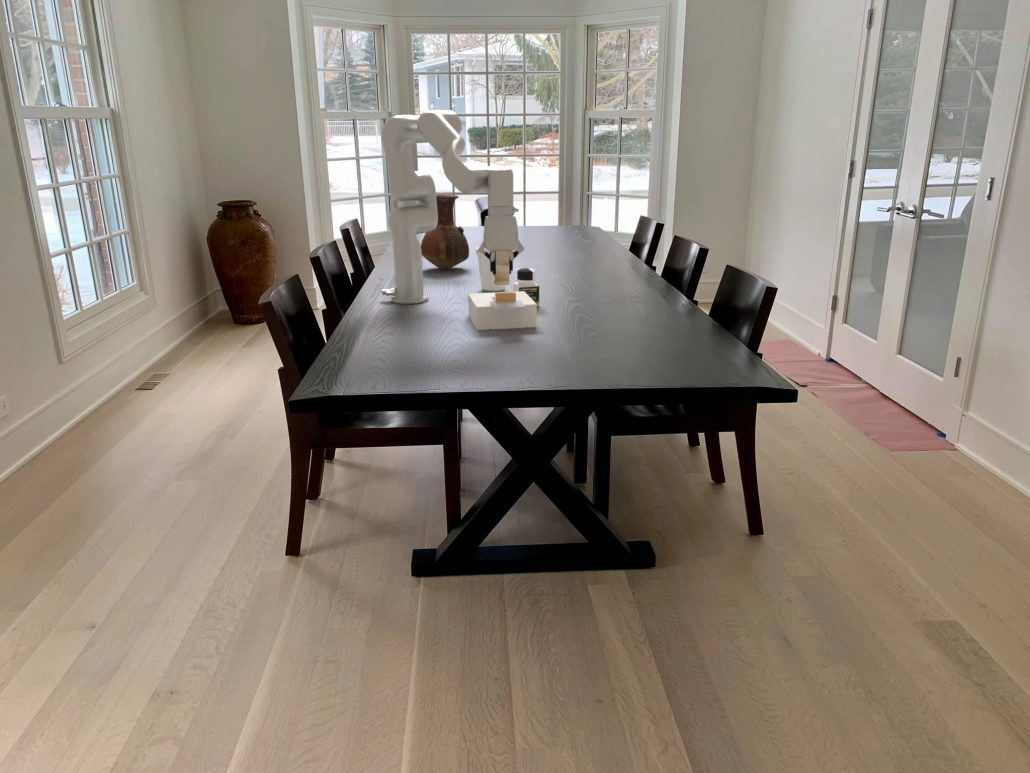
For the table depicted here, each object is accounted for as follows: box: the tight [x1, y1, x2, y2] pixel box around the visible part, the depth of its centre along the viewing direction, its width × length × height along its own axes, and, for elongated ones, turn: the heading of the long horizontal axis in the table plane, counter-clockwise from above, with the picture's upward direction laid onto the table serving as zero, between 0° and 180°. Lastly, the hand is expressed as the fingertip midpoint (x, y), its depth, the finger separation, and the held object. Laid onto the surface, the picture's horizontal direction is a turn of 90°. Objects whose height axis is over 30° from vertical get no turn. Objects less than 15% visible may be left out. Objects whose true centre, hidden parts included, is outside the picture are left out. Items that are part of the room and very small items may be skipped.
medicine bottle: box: [512, 267, 540, 306], centre depth 250 cm, size 7×7×12 cm
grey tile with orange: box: [490, 291, 526, 311], centre depth 219 cm, size 9×9×3 cm
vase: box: [420, 194, 470, 271], centre depth 306 cm, size 25×20×30 cm
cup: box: [475, 245, 506, 293], centre depth 272 cm, size 12×12×15 cm
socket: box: [467, 291, 538, 331], centre depth 231 cm, size 18×18×7 cm
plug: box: [494, 249, 510, 286], centre depth 225 cm, size 4×4×14 cm
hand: (501, 273), depth 227 cm, fingers closed on plug, 4 cm apart
